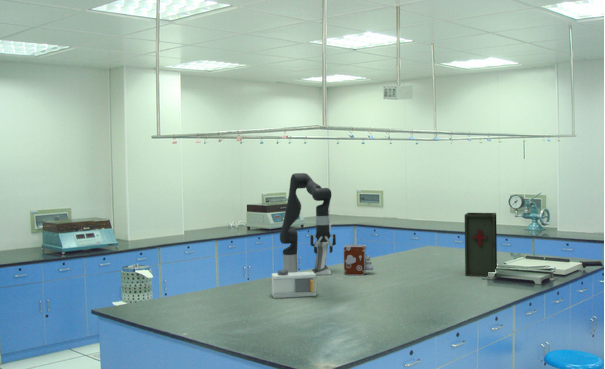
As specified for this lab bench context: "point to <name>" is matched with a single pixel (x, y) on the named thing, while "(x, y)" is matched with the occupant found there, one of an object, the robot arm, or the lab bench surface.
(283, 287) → the camera housing
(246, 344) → the lab bench surface
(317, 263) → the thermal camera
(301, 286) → the side door
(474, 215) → the first aid box
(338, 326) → the lab bench surface
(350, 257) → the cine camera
